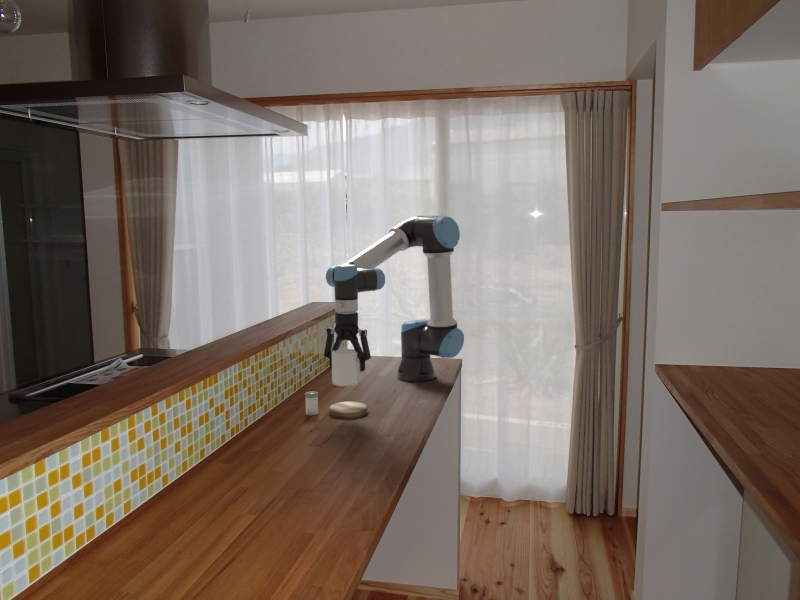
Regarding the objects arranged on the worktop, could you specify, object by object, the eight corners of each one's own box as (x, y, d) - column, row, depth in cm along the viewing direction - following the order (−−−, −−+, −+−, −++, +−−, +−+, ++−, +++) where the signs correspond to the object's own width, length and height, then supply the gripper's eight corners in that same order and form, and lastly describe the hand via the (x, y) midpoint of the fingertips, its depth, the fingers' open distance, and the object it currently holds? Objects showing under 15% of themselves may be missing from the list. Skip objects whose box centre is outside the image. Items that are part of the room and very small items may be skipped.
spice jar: (309, 410, 221) (308, 390, 220) (320, 412, 220) (320, 392, 219) (303, 414, 217) (302, 394, 216) (314, 415, 216) (314, 395, 215)
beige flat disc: (339, 405, 227) (339, 399, 227) (373, 408, 223) (373, 403, 223) (321, 416, 215) (321, 410, 215) (358, 420, 211) (357, 414, 211)
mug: (365, 378, 222) (365, 347, 220) (352, 387, 211) (352, 355, 209) (342, 376, 225) (341, 345, 223) (327, 385, 213) (327, 353, 212)
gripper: (312, 311, 215) (313, 379, 218) (372, 315, 207) (372, 385, 210) (322, 308, 222) (324, 373, 225) (381, 312, 214) (381, 379, 217)
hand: (347, 379), depth 217 cm, fingers closed on mug, 9 cm apart
